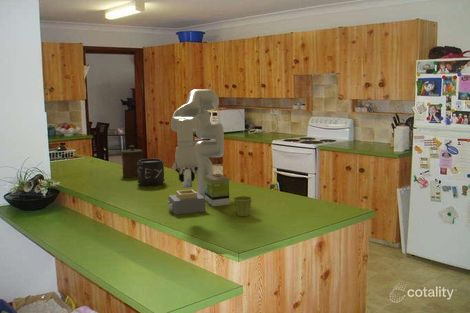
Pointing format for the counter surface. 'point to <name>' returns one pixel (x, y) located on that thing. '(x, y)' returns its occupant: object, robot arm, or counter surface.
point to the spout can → (187, 177)
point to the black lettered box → (150, 172)
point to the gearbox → (186, 202)
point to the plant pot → (243, 205)
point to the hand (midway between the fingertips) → (187, 180)
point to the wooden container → (131, 161)
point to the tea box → (216, 189)
